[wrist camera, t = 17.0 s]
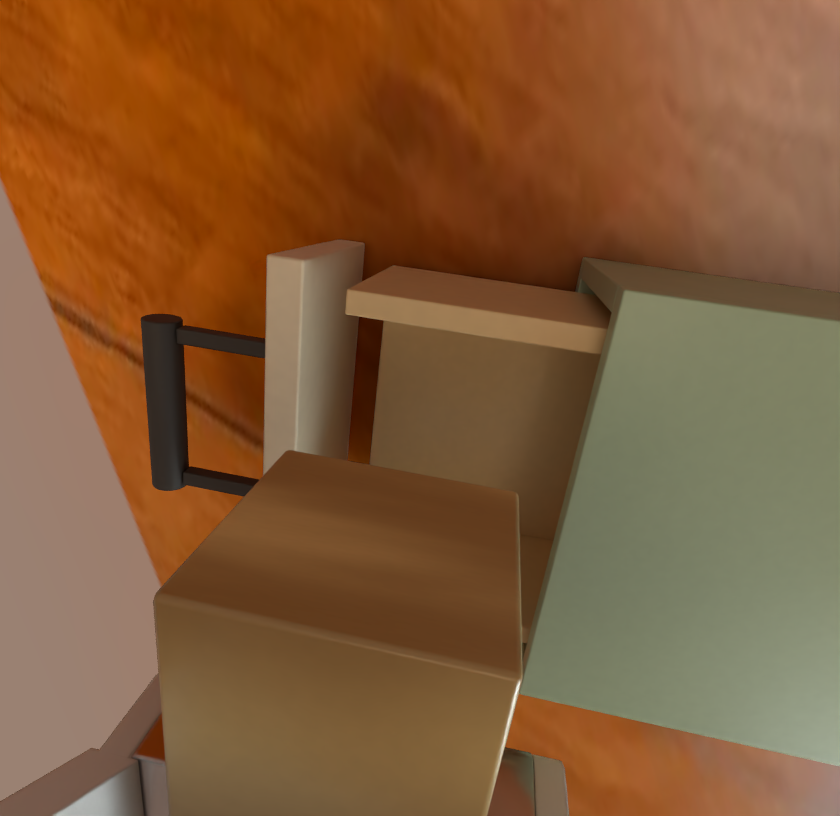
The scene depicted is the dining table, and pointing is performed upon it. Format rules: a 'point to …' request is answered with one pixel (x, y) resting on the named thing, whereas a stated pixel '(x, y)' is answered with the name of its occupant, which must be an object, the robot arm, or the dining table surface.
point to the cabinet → (702, 516)
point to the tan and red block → (343, 647)
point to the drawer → (404, 381)
